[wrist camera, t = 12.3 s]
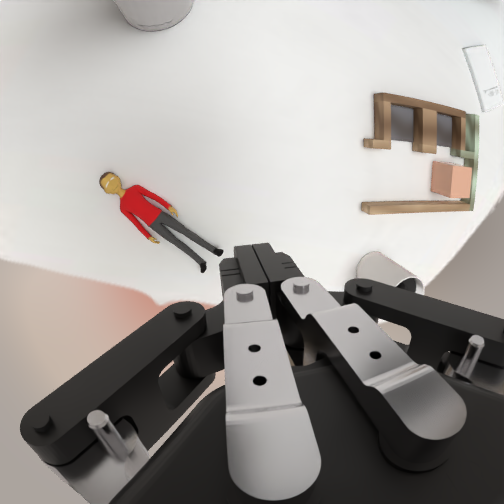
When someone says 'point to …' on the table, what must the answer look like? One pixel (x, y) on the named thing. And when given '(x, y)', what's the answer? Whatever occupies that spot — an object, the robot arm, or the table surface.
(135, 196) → the person figure
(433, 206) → the brown frame
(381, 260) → the drinking glass
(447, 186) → the clay block
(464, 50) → the external hard drive
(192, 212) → the table surface
